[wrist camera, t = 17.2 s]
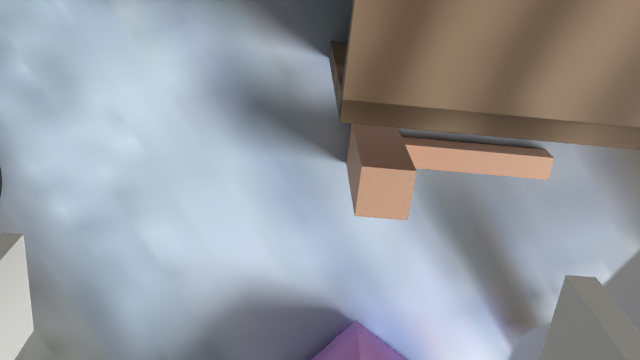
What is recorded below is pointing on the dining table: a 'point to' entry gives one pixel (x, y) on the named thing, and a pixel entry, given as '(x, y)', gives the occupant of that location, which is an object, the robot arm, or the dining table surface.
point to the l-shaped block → (423, 166)
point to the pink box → (357, 346)
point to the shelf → (494, 68)
